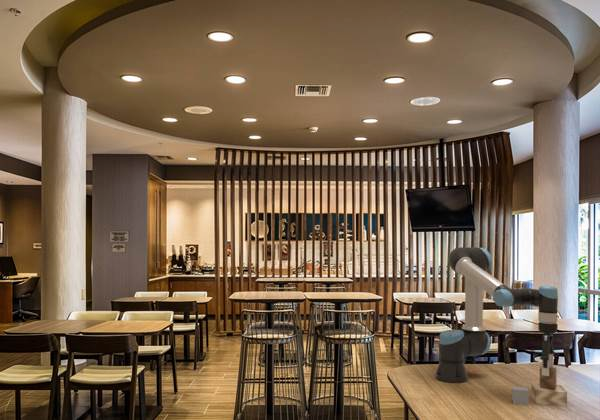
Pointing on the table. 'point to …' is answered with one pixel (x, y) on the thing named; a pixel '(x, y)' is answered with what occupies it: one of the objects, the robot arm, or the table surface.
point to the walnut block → (548, 379)
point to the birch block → (549, 395)
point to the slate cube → (520, 395)
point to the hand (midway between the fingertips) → (547, 372)
